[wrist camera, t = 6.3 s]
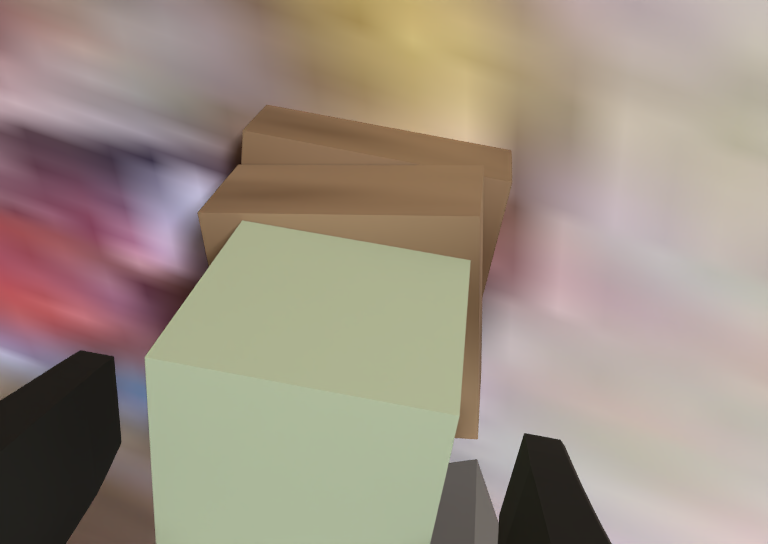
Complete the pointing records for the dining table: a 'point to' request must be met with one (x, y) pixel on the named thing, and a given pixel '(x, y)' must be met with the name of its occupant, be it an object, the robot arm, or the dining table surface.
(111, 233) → the dining table surface
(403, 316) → the green cube
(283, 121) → the base slab
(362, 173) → the top slab
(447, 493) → the charcoal block
